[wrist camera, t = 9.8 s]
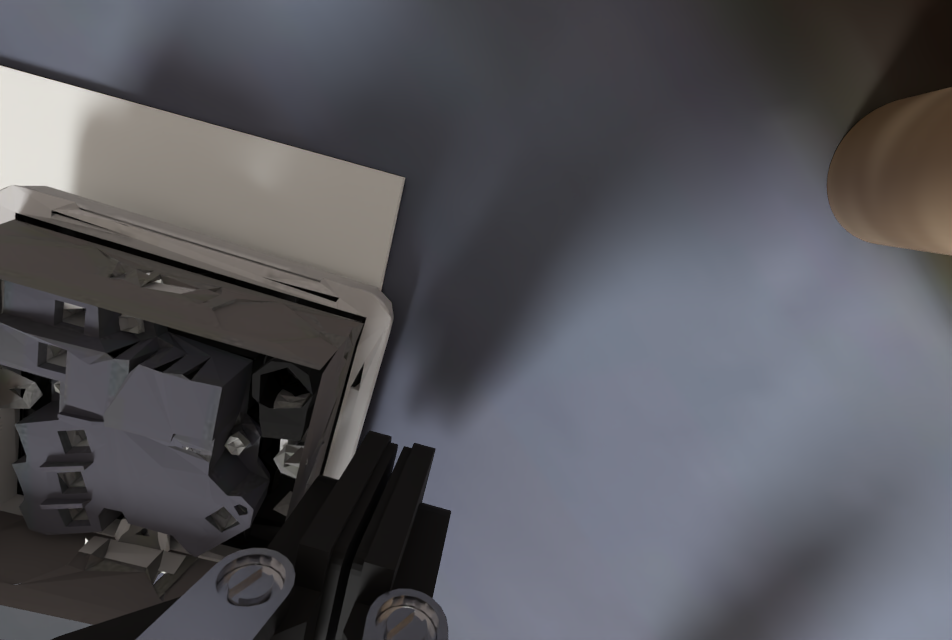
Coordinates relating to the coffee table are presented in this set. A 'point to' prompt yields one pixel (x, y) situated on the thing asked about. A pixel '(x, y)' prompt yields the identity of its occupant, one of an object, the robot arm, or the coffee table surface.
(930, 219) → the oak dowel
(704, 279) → the coffee table surface
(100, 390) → the electrical switch
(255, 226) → the mat
